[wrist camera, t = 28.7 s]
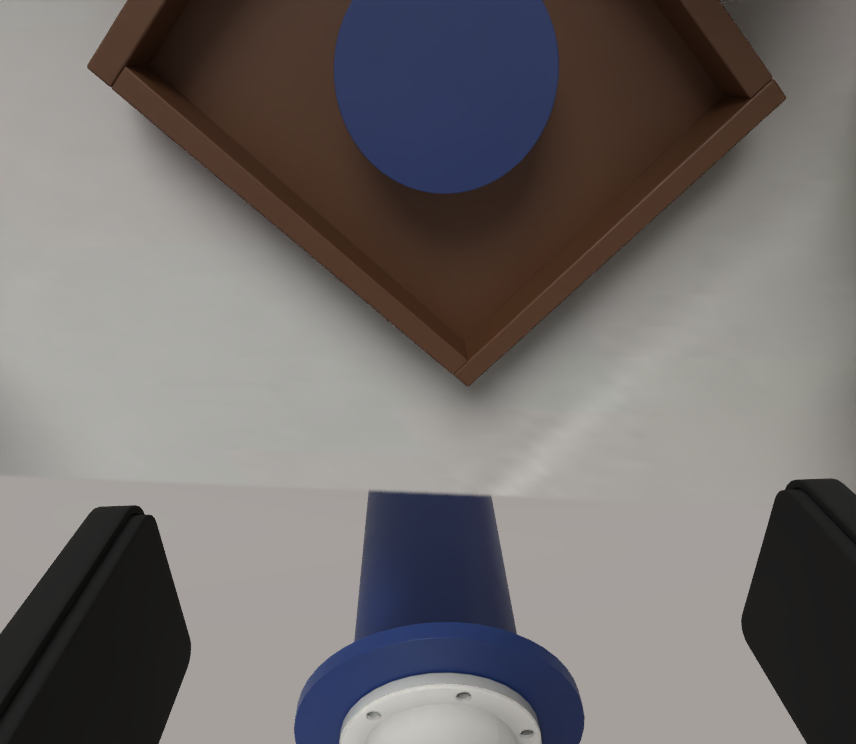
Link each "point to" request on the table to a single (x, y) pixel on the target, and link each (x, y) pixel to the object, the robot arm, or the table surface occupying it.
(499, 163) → the lid
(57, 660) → the robot arm
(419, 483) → the table surface
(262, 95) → the tray
